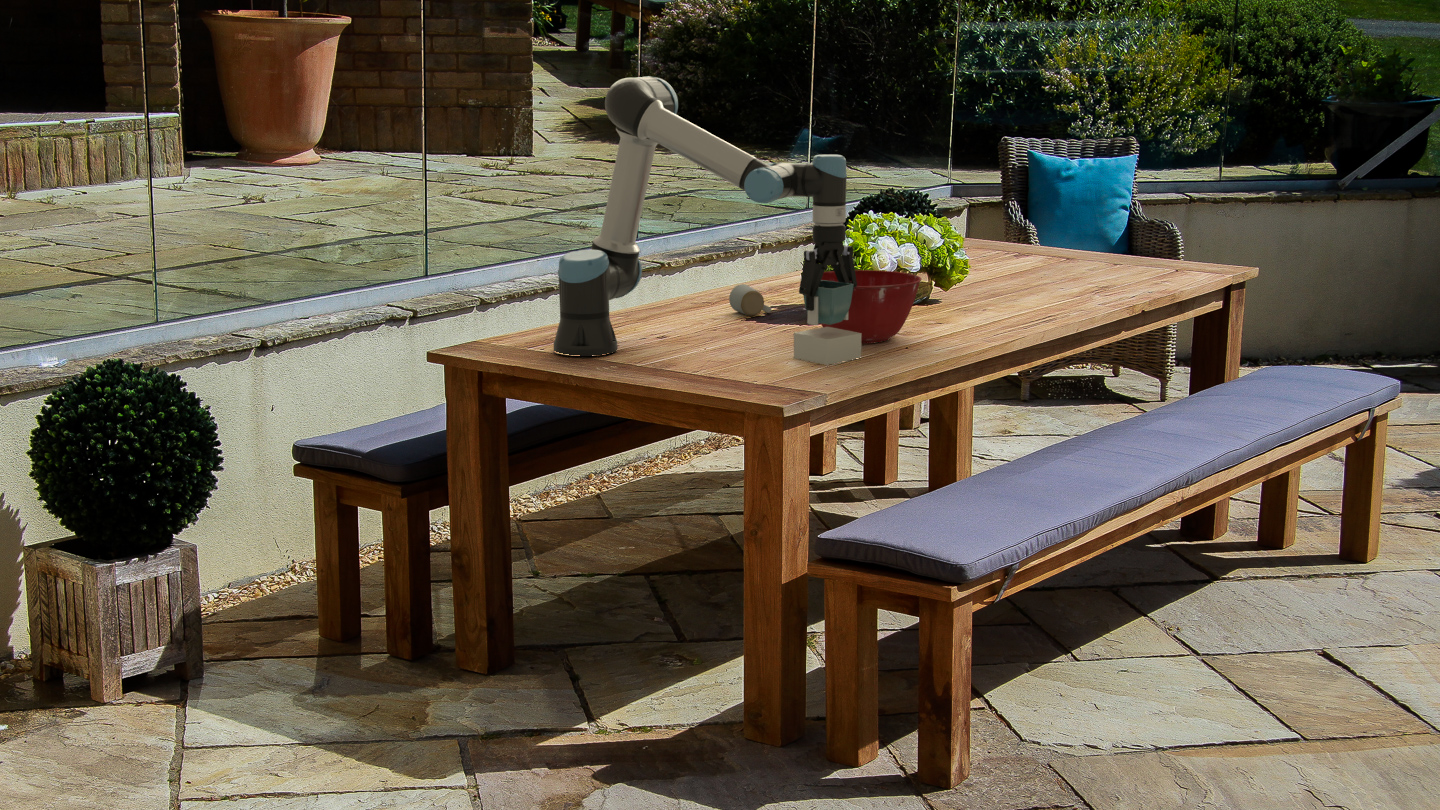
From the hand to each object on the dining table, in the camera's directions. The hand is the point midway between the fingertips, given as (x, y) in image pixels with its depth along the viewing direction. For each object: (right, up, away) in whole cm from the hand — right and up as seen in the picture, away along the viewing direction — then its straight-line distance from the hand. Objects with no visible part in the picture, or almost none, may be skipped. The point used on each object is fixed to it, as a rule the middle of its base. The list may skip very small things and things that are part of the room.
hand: (828, 321), depth 333 cm
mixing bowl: (+10, -3, +25) cm, 27 cm away
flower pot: (0, 0, 0) cm, 0 cm away
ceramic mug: (-16, +5, +59) cm, 62 cm away
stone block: (0, -8, +2) cm, 9 cm away
